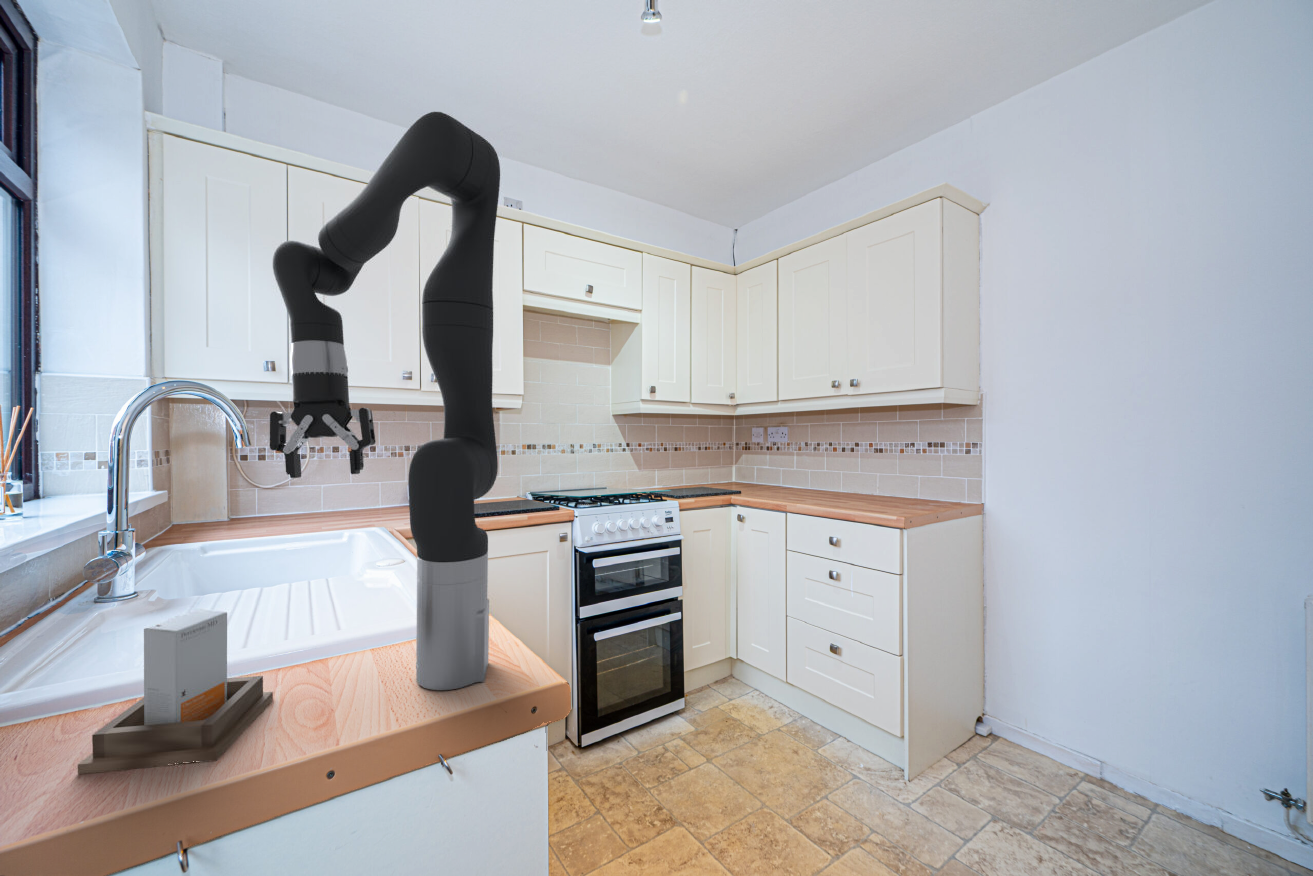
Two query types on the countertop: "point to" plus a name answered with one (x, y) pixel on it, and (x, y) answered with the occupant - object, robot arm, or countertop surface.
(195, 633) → the skincare box
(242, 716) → the tray
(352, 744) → the countertop surface
